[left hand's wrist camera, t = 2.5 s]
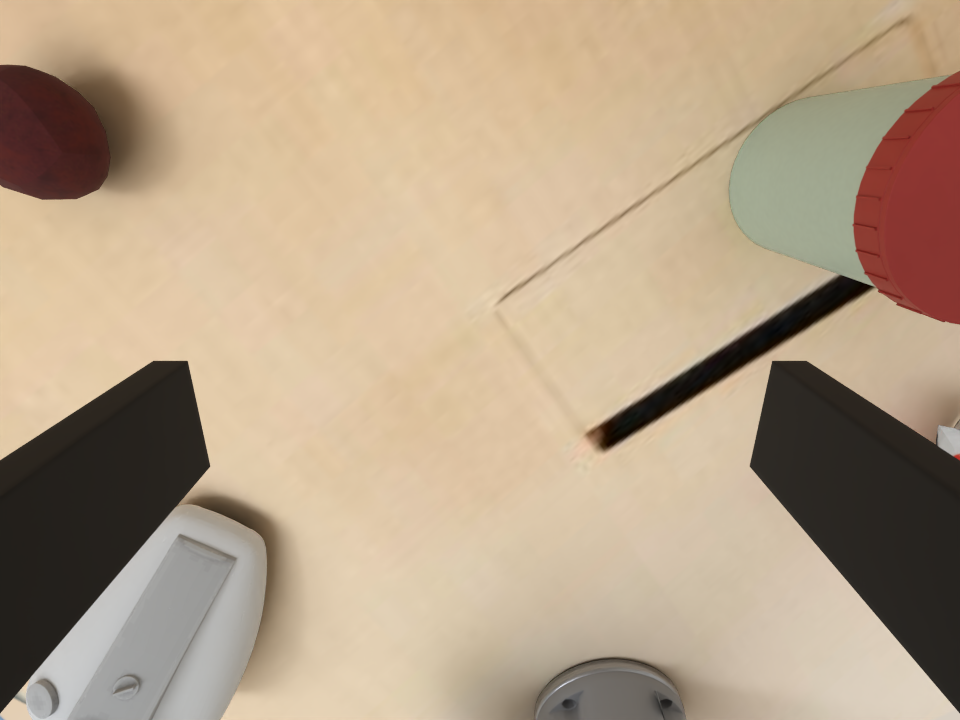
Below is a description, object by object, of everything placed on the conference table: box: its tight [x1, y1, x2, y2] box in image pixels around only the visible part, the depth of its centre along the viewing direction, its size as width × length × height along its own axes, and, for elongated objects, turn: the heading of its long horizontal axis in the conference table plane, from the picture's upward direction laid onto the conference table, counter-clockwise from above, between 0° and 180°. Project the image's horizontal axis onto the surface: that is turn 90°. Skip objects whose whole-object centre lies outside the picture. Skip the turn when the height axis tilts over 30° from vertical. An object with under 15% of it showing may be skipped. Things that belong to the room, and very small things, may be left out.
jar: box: [729, 75, 951, 287], centre depth 30 cm, size 10×10×16 cm
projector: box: [26, 504, 267, 720], centre depth 44 cm, size 22×23×15 cm
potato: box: [0, 65, 110, 200], centre depth 33 cm, size 7×8×7 cm
